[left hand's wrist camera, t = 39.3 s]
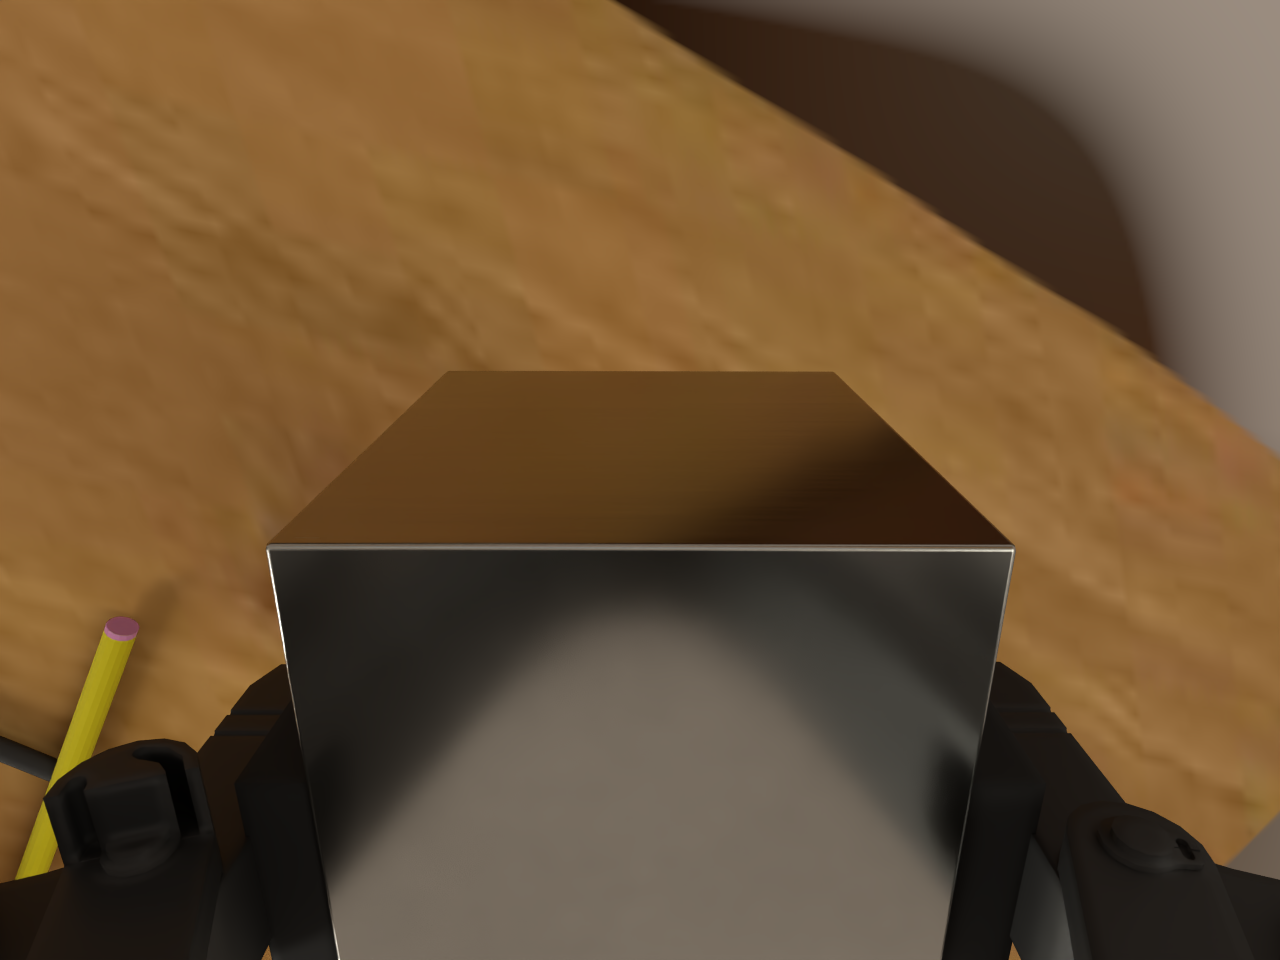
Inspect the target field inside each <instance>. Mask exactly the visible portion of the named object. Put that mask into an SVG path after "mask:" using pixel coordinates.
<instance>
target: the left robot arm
mask: <svg viewBox="0 0 1280 960" xmlns="http://www.w3.org/2000/svg"><path fill="white" fill-rule="evenodd" d="M1066 729H1067V728H1066V727H1065V725H1064V724H1063V723H1062V722H1061V720H1060V719H1059V718H1058V717H1057V715H1056V714H1055V713H1054V712H1051V710H1050V706H1049V705H1048V704H1047V703H1046V701H1045V700H1044V699H1043V697H1042V696H1041V695H1040V694H1039V692H1038V691H1037V690H1036V689H1035V687H1034V686H1033V685H1032V684H1031V683H1030V682H1029V681H1027V680H1026V679H1024V678H1023V677H1022V676H1020V675H1019V674H1017V673H1016V672H1014V671H1013V670H1011V669H1010V668H1008V667H1007V666H1005V665H1004V664H1002V663H1001V662H996V663H995V669H994V674H993V680H992V685H991V691H990V696H989V702H988V707H987V713H986V718H985V724H984V729H983V735H982V741H981V746H980V752H979V757H978V763H977V768H976V774H975V779H974V785H973V790H972V796H971V801H970V807H969V812H968V818H967V823H966V829H965V834H964V840H963V846H962V851H961V857H960V862H959V868H958V873H957V879H956V884H955V890H954V895H953V901H952V906H951V912H950V917H949V923H948V928H947V934H946V939H945V945H944V951H943V956H942V960H1009V955H1010V950H1011V946H1012V942H1013V944H1014V946H1015V948H1016V950H1017V952H1018V954H1019V956H1020V958H1021V960H1280V880H1278V879H1274V878H1269V877H1265V876H1261V875H1256V874H1252V873H1248V872H1243V871H1239V870H1235V869H1231V868H1228V867H1224V866H1221V865H1218V864H1215V863H1214V862H1213V860H1212V859H1211V857H1210V856H1209V854H1208V853H1207V851H1206V850H1205V848H1204V847H1203V845H1202V844H1200V843H1199V842H1198V841H1197V840H1196V839H1195V838H1193V837H1192V836H1191V835H1190V834H1189V833H1187V832H1186V831H1185V830H1184V829H1183V828H1181V827H1180V826H1178V825H1177V824H1175V823H1173V822H1171V821H1169V820H1167V819H1166V818H1164V817H1162V816H1160V815H1158V814H1156V813H1154V812H1152V811H1149V810H1146V809H1143V808H1139V807H1136V806H1133V805H1130V804H1127V803H1125V802H1124V800H1123V799H1122V798H1121V796H1120V795H1119V794H1118V793H1117V791H1116V790H1115V789H1114V788H1113V786H1112V785H1111V784H1110V783H1109V781H1108V780H1107V779H1106V777H1105V776H1104V775H1103V774H1102V772H1101V771H1100V770H1099V769H1098V767H1097V766H1096V765H1095V763H1094V762H1093V761H1092V760H1091V758H1090V757H1089V756H1088V755H1087V753H1086V752H1085V751H1084V750H1083V748H1082V747H1081V746H1080V744H1079V743H1078V742H1077V741H1076V739H1075V738H1074V737H1073V736H1072V734H1071V733H1067V730H1066ZM57 760H58V759H56V758H54V757H51V756H49V755H47V754H44V753H42V752H39V751H37V750H34V749H32V748H29V747H27V746H24V745H22V744H19V743H17V742H14V741H12V740H9V739H7V738H5V737H2V736H0V762H2V763H4V764H7V765H9V766H12V767H14V768H17V769H19V770H22V771H24V772H27V773H29V774H32V775H34V776H37V777H39V778H42V779H44V780H47V781H49V782H50V780H51V777H52V774H53V772H54V769H55V766H56V763H57ZM43 801H44V804H45V807H46V810H47V813H48V816H49V819H50V822H51V826H52V829H53V832H54V835H55V838H56V841H57V844H58V847H59V851H60V854H61V857H62V860H63V863H64V868H61V869H58V870H54V871H51V872H47V873H43V874H39V875H34V876H30V877H26V878H21V879H17V880H13V881H9V882H4V883H0V960H261V959H262V957H263V955H264V953H265V951H266V949H267V947H268V945H269V948H270V952H271V957H272V960H338V956H337V950H336V945H335V939H334V933H333V928H332V922H331V916H330V911H329V905H328V899H327V894H326V888H325V882H324V877H323V871H322V865H321V860H320V854H319V848H318V843H317V837H316V831H315V825H314V820H313V814H312V808H311V803H310V797H309V791H308V786H307V780H306V774H305V769H304V763H303V757H302V752H301V746H300V740H299V735H298V729H297V723H296V718H295V712H294V706H293V701H292V695H291V689H290V683H289V678H288V672H287V666H286V664H281V665H279V666H278V667H276V668H275V669H274V670H272V671H271V672H269V673H268V674H266V675H265V676H263V677H262V678H260V679H259V680H257V681H256V682H254V683H253V684H252V685H250V686H249V688H248V689H247V690H246V691H245V693H244V694H243V695H242V696H241V698H240V699H239V700H238V702H237V703H236V704H235V705H234V707H233V708H232V709H231V714H230V715H227V716H226V717H225V718H224V719H223V721H222V722H221V723H220V725H219V726H218V727H217V728H216V730H215V734H214V736H210V737H209V739H208V740H207V741H206V742H205V744H204V745H203V746H202V748H201V749H200V750H199V751H198V753H197V752H196V751H195V750H193V749H192V748H191V747H190V746H189V745H187V744H186V743H185V742H180V741H174V740H169V739H153V740H141V741H136V742H132V743H129V744H125V745H122V746H118V747H115V748H111V749H108V750H106V751H104V752H102V753H100V754H98V755H96V756H94V757H91V758H89V759H87V760H85V761H83V762H81V763H80V764H78V765H77V766H76V767H74V768H73V769H72V770H70V771H69V772H67V773H66V774H65V775H63V776H62V777H61V778H59V779H58V780H57V781H56V782H55V784H54V785H53V786H52V788H51V789H50V790H49V791H48V793H47V794H46V795H45V796H44V798H43Z"/></svg>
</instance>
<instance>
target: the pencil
mask: <svg viewBox="0 0 1280 960" xmlns="http://www.w3.org/2000/svg"><path fill="white" fill-rule="evenodd" d="M138 630H139V625H138V623H137V622H136V621H135V620H133V619H130V618H127V617H114V618H112V619H109V621H108V622H107V623H106V626H105V629H104V632H103V634H102V637H101V640H100V643H99V646H98V648H97V651H96V654H95V657H94V660H93V662H92V665H91V668H90V671H89V674H88V676H87V679H86V682H85V685H84V688H83V690H82V693H81V696H80V699H79V702H78V704H77V707H76V710H75V713H74V716H73V718H72V721H71V724H70V727H69V730H68V732H67V735H66V738H65V741H64V744H63V746H62V749H61V752H60V755H59V758H58V760H57V763H56V766H55V769H54V772H53V774H52V777H51V780H50V783H49V786H48V788H47V791H46V794H47V793H48V791H49V790H50V789H51V788H52V786H53V785H54V784H55V782H56V781H57V780H58V779H59V778H61V777H62V776H63V775H65V774H66V773H67V772H69V771H70V770H72V769H73V768H74V767H76V766H77V765H78V764H80V763H81V762H83V761H85V760H87V759H89V758H91V756H92V753H93V751H94V748H95V745H96V743H97V740H98V737H99V735H100V732H101V729H102V727H103V724H104V721H105V719H106V716H107V713H108V711H109V708H110V705H111V703H112V700H113V697H114V695H115V692H116V689H117V687H118V684H119V681H120V679H121V676H122V673H123V671H124V668H125V665H126V663H127V660H128V657H129V655H130V652H131V649H132V647H133V644H134V641H135V639H136V636H137V632H138ZM46 794H45V795H46ZM57 847H58V844H57V841H56V838H55V835H54V832H53V829H52V826H51V822H50V819H49V816H48V813H47V810H46V807H45V804H44V801H43V802H42V805H41V808H40V811H39V813H38V816H37V819H36V822H35V825H34V827H33V830H32V833H31V836H30V839H29V841H28V844H27V847H26V850H25V853H24V855H23V858H22V861H21V864H20V867H19V869H18V872H17V875H16V878H15V880H17V879H21V878H26V877H30V876H34V875H39V874H43V873H47V872H48V871H49V868H50V865H51V863H52V860H53V857H54V855H55V852H56V849H57Z"/></svg>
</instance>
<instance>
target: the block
mask: <svg viewBox="0 0 1280 960" xmlns="http://www.w3.org/2000/svg"><path fill="white" fill-rule="evenodd" d="M266 553H267V559H268V564H269V570H270V576H271V581H272V587H273V593H274V598H275V604H276V610H277V615H278V621H279V627H280V632H281V638H282V644H283V649H284V655H285V661H286V666H287V672H288V678H289V683H290V689H291V695H292V701H293V706H294V712H295V718H296V723H297V729H298V735H299V740H300V746H301V752H302V757H303V763H304V769H305V774H306V780H307V786H308V791H309V797H310V803H311V808H312V814H313V820H314V825H315V831H316V837H317V843H318V848H319V854H320V860H321V865H322V871H323V877H324V882H325V888H326V894H327V899H328V905H329V911H330V916H331V922H332V928H333V933H334V939H335V945H336V950H337V956H338V960H942V956H943V951H944V945H945V939H946V934H947V928H948V923H949V917H950V912H951V906H952V901H953V895H954V890H955V884H956V879H957V873H958V868H959V862H960V857H961V851H962V846H963V840H964V834H965V829H966V823H967V818H968V812H969V807H970V801H971V796H972V790H973V785H974V779H975V774H976V768H977V763H978V757H979V752H980V746H981V741H982V735H983V729H984V724H985V718H986V713H987V707H988V702H989V696H990V691H991V685H992V680H993V674H994V669H995V663H996V658H997V652H998V647H999V641H1000V635H1001V630H1002V624H1003V619H1004V613H1005V608H1006V602H1007V597H1008V591H1009V586H1010V580H1011V575H1012V569H1013V564H1014V558H1015V553H1016V549H1015V546H1014V544H1012V543H1011V542H1010V541H1009V540H1008V539H1007V538H1006V537H1005V536H1004V535H1003V534H1002V533H1001V532H1000V531H999V530H998V529H997V528H996V527H995V526H994V525H993V524H992V523H991V522H990V521H989V520H987V519H986V518H985V517H984V516H983V515H982V514H981V513H980V512H979V511H978V510H977V509H976V508H975V507H974V506H973V505H972V504H971V503H970V502H969V501H968V500H967V499H966V498H965V497H964V496H963V495H961V494H960V493H959V492H958V491H957V490H956V489H955V488H954V487H953V486H952V485H951V484H950V483H949V482H948V481H947V480H946V479H945V478H944V477H943V476H942V475H941V474H940V473H939V472H938V471H936V470H935V469H934V468H933V467H932V466H931V465H930V464H929V463H928V462H927V461H926V460H925V459H924V458H923V457H922V456H921V455H920V454H919V453H918V452H917V451H916V450H915V449H914V448H913V447H911V446H910V445H909V444H908V443H907V442H906V441H905V440H904V439H903V438H902V437H901V436H900V435H899V434H898V433H897V432H896V431H895V430H894V429H893V428H892V427H891V426H890V425H889V424H888V423H886V422H885V421H884V420H883V419H882V418H881V417H880V416H879V415H878V414H877V413H876V412H875V411H874V410H873V409H872V408H871V407H870V406H869V405H868V404H867V403H866V402H865V401H864V400H863V399H861V398H860V397H859V396H858V395H857V394H856V393H855V392H854V391H853V390H852V389H851V388H850V387H849V386H848V385H847V384H846V383H845V382H844V381H843V380H842V379H841V378H840V377H839V376H838V375H836V374H835V373H834V372H690V371H448V372H446V373H445V374H444V375H443V376H442V377H441V378H440V379H439V380H438V381H437V382H436V383H435V384H434V385H433V386H432V387H431V388H430V389H429V390H428V391H427V392H425V393H424V394H423V395H422V396H421V397H420V398H419V399H418V400H417V401H416V402H415V403H414V404H413V405H412V406H411V407H410V408H409V409H408V410H407V411H406V412H405V413H404V414H403V415H401V416H400V417H399V418H398V419H397V420H396V421H395V422H394V423H393V424H392V425H391V426H390V427H389V428H388V429H387V430H386V431H385V432H384V433H383V434H382V435H381V436H380V437H378V438H377V439H376V440H375V441H374V442H373V443H372V444H371V445H370V446H369V447H368V448H367V449H366V450H365V451H364V452H363V453H362V454H361V455H360V456H359V457H358V458H357V459H355V460H354V461H353V462H352V463H351V464H350V465H349V466H348V467H347V468H346V469H345V470H344V471H343V472H342V473H341V474H340V475H339V476H338V477H337V478H336V479H335V480H334V481H332V482H331V483H330V484H329V485H328V486H327V487H326V488H325V489H324V490H323V491H322V492H321V493H320V494H319V495H318V496H317V497H316V498H315V499H314V500H313V501H312V502H311V503H309V504H308V505H307V506H306V507H305V508H304V509H303V510H302V511H301V512H300V513H299V514H298V515H297V516H296V517H295V518H294V519H293V520H292V521H291V522H290V523H289V524H288V525H286V526H285V527H284V528H283V529H282V530H281V531H280V532H279V533H278V534H277V535H276V536H275V537H274V538H273V539H272V540H271V541H270V542H269V543H268V544H267V547H266Z"/></svg>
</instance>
